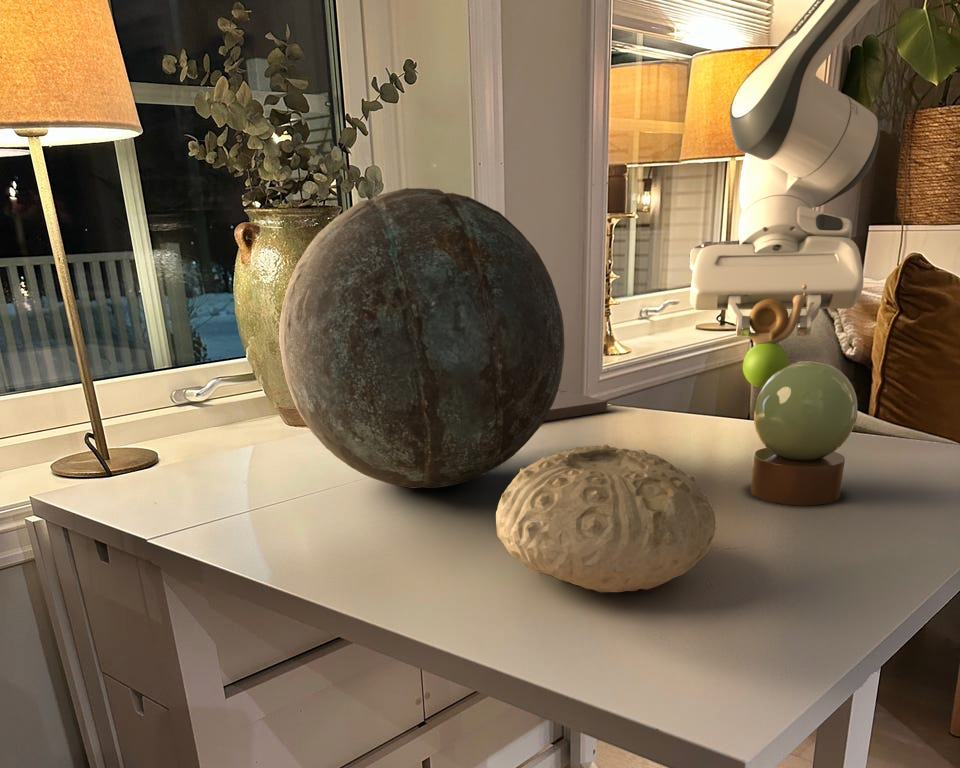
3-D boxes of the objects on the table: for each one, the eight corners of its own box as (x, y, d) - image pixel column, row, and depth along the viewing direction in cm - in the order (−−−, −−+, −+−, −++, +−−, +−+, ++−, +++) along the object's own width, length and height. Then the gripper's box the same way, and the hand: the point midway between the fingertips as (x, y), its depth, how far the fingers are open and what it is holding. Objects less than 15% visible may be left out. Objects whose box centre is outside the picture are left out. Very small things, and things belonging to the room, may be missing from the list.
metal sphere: (508, 442, 121) (505, 188, 108) (607, 504, 95) (620, 180, 82) (279, 465, 112) (247, 193, 99) (321, 540, 86) (285, 186, 74)
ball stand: (783, 475, 103) (799, 351, 98) (863, 494, 96) (885, 361, 90) (726, 491, 98) (738, 361, 92) (806, 513, 91) (825, 373, 85)
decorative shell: (750, 570, 77) (764, 452, 73) (629, 639, 66) (636, 504, 61) (582, 527, 88) (584, 423, 84) (452, 579, 77) (447, 461, 72)
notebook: (485, 430, 127) (606, 411, 137) (484, 419, 126) (607, 400, 136) (441, 415, 137) (557, 398, 146) (440, 404, 136) (557, 388, 146)
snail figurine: (795, 392, 111) (808, 286, 105) (740, 391, 112) (750, 286, 107) (793, 384, 115) (805, 282, 110) (740, 383, 117) (750, 282, 112)
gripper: (691, 224, 114) (686, 316, 109) (865, 219, 110) (868, 314, 105) (688, 260, 120) (684, 349, 115) (853, 257, 116) (855, 348, 111)
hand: (773, 332), depth 110 cm, fingers closed on snail figurine, 6 cm apart
